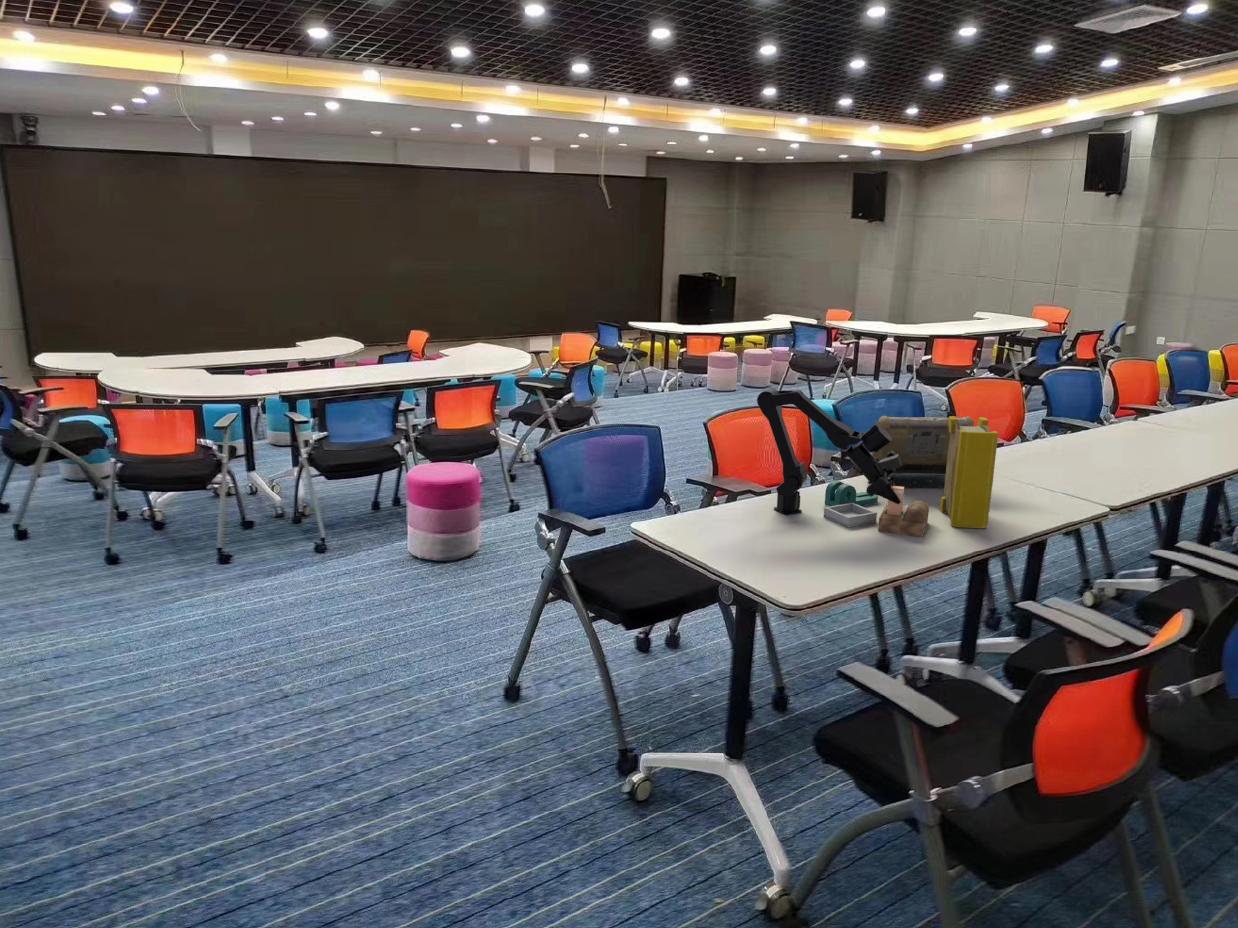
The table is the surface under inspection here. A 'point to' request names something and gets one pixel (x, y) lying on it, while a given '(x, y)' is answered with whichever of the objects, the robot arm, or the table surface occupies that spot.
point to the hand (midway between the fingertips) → (900, 502)
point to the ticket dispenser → (906, 520)
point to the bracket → (846, 495)
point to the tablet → (919, 449)
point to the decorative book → (969, 474)
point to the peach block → (893, 507)
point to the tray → (850, 514)
